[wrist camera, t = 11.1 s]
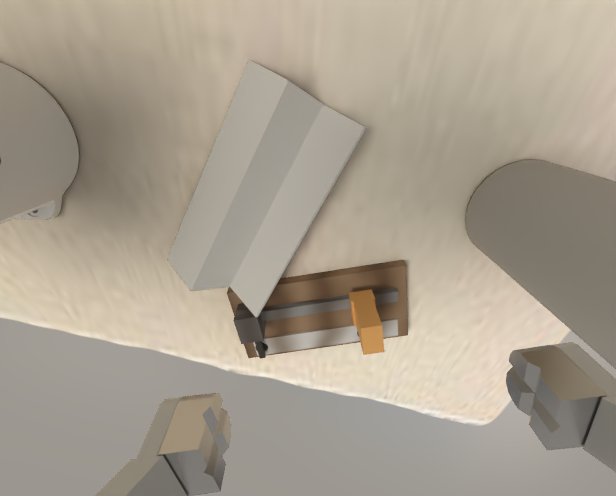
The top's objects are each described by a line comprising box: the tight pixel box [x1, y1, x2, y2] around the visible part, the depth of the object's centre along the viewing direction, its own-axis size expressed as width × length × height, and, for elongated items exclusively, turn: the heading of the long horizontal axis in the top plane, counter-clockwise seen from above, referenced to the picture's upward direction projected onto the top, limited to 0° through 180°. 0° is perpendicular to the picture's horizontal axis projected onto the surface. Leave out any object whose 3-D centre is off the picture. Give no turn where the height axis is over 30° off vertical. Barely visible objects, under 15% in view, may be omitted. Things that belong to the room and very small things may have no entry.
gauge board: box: [227, 260, 408, 358], centre depth 44 cm, size 24×12×5 cm, turn 99°
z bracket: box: [167, 60, 366, 317], centre depth 36 cm, size 12×25×6 cm
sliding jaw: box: [349, 289, 384, 355], centre depth 41 cm, size 3×9×8 cm, turn 9°
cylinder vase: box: [466, 160, 616, 369], centre depth 29 cm, size 12×12×25 cm
